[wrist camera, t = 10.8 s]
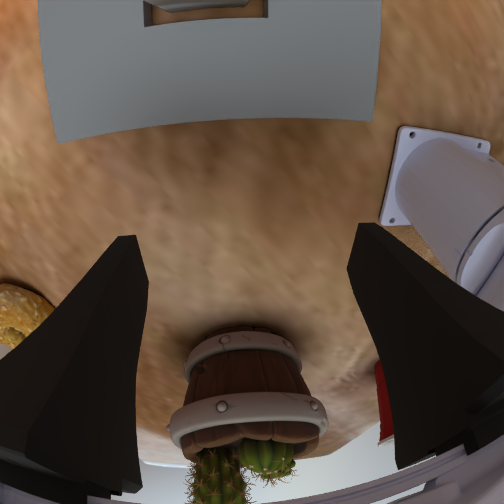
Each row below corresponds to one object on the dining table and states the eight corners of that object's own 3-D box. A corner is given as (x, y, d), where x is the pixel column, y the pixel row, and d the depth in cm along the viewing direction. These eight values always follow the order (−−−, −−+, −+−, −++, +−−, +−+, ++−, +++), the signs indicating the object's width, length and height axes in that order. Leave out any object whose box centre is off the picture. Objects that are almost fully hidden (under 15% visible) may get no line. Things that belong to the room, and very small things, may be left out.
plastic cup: (347, 384, 42) (366, 456, 33) (371, 345, 35) (401, 433, 26) (407, 372, 43) (430, 436, 34) (437, 332, 36) (470, 406, 27)
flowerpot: (307, 293, 27) (364, 525, 12) (308, 371, 37) (338, 520, 22) (150, 318, 28) (137, 538, 12) (197, 387, 37) (202, 534, 22)
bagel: (11, 334, 29) (0, 365, 25) (-22, 269, 22) (-42, 303, 18) (77, 346, 31) (69, 381, 27) (51, 278, 24) (34, 318, 20)
